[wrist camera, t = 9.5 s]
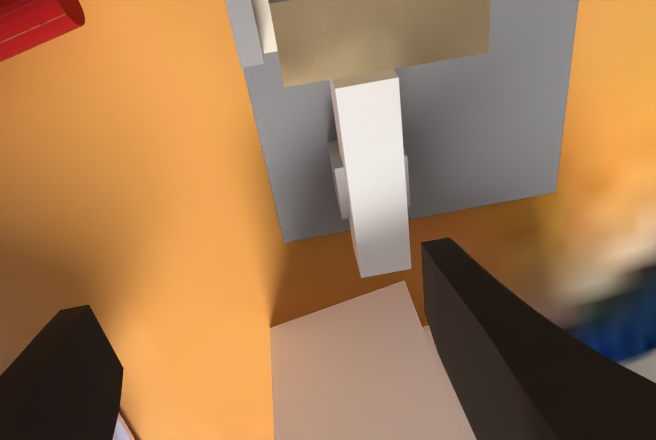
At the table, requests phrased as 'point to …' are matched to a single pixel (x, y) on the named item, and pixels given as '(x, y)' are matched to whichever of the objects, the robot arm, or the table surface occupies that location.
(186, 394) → the table surface
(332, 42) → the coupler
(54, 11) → the mechanical clamp
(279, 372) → the corner bracket
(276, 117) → the shaft stand
